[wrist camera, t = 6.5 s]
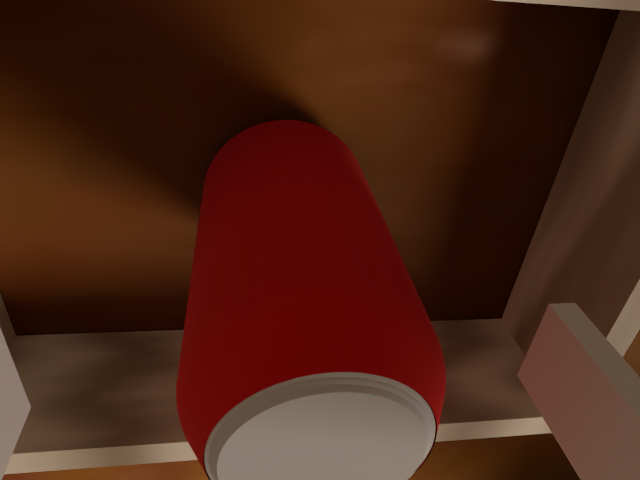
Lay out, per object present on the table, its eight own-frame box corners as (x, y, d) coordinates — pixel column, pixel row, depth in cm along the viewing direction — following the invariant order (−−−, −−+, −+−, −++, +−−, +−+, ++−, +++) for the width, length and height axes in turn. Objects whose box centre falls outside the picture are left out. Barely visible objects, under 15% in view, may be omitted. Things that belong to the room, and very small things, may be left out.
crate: (674, -48, 17) (857, -30, 12) (515, 334, 27) (577, 431, 22) (-207, -132, 13) (-494, -157, 8) (-6, 355, 23) (-75, 479, 18)
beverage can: (199, 240, 21) (161, 545, 11) (211, 96, 17) (170, 346, 7) (339, 253, 22) (419, 534, 12) (374, 121, 19) (523, 360, 9)
